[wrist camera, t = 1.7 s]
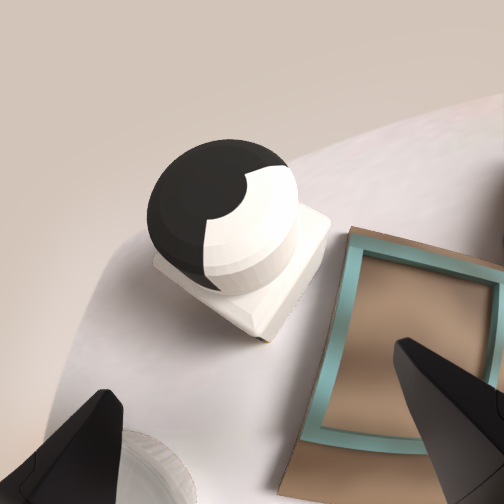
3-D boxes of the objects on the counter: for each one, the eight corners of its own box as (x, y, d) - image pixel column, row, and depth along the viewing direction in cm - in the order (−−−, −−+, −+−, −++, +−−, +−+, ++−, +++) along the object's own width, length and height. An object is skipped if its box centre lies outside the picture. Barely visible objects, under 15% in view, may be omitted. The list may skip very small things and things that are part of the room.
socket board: (458, 496, 12) (470, 505, 10) (278, 488, 16) (276, 500, 14) (508, 274, 18) (522, 266, 16) (348, 232, 22) (353, 220, 20)
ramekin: (85, 408, 20) (44, 413, 15) (206, 430, 18) (180, 449, 13) (99, 510, 16) (66, 528, 11) (213, 541, 14) (194, 574, 9)
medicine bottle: (190, 291, 22) (96, 223, 11) (243, 217, 23) (201, 103, 12) (269, 345, 20) (236, 330, 9) (323, 261, 21) (347, 159, 10)
